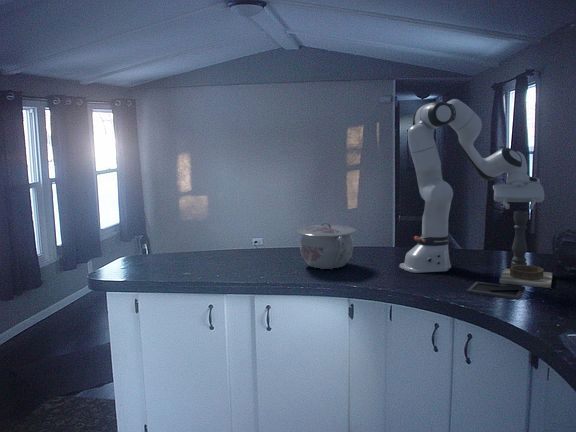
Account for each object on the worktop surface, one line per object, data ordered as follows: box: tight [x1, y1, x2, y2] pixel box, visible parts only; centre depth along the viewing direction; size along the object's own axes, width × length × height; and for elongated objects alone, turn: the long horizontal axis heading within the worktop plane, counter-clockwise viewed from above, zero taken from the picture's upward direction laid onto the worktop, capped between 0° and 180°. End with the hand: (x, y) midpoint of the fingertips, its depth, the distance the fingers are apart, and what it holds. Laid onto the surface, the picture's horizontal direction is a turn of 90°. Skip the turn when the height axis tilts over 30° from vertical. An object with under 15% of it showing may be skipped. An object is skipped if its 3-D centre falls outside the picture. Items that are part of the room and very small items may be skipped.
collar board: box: [499, 264, 553, 289], centre depth 213 cm, size 18×18×4 cm
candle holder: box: [510, 210, 529, 267], centre depth 225 cm, size 6×6×25 cm
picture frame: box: [466, 281, 526, 301], centre depth 199 cm, size 13×2×18 cm
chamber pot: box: [295, 221, 358, 270], centre depth 242 cm, size 28×28×21 cm
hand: (519, 208), depth 228 cm, fingers open, 8 cm apart
